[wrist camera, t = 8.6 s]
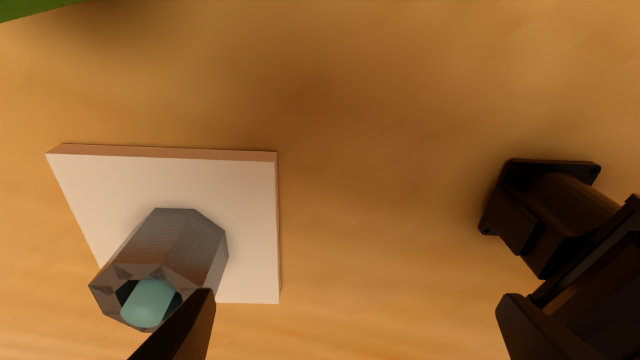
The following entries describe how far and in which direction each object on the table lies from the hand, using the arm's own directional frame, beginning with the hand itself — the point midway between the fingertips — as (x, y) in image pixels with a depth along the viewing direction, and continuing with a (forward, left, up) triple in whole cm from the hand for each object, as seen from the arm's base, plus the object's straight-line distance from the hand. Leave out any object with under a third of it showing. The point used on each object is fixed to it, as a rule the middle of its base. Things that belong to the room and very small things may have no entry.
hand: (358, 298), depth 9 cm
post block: (+11, +8, -12) cm, 18 cm away
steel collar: (+11, +8, -10) cm, 17 cm away
